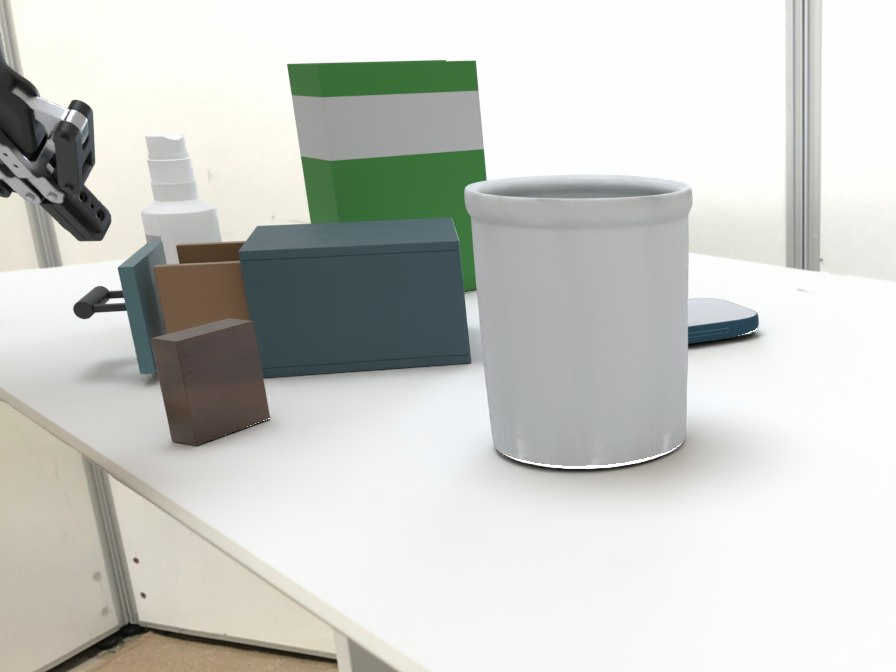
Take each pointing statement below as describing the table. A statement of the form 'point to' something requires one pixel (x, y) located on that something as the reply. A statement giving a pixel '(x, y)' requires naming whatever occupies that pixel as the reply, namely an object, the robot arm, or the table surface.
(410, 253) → the cabinet
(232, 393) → the walnut board
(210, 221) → the spray bottle
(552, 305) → the utensil holder
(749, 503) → the table surface
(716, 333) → the external hard drive
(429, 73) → the green cereal box
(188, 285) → the drawer
